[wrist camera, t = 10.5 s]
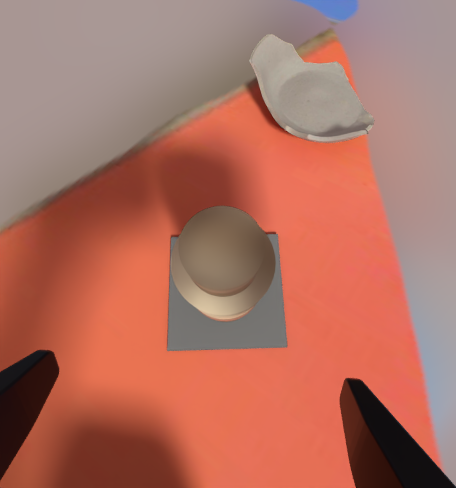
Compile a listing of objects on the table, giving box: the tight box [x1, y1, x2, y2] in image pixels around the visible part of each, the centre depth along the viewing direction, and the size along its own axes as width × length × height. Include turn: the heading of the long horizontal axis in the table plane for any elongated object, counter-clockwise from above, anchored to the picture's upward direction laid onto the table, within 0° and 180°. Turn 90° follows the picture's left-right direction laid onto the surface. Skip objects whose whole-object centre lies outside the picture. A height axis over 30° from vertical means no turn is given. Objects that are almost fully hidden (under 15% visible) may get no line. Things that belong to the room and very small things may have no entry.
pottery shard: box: [249, 34, 374, 143], centre depth 26 cm, size 10×11×5 cm
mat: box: [167, 234, 287, 351], centre depth 23 cm, size 9×9×1 cm
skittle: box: [171, 206, 276, 322], centre depth 17 cm, size 5×5×12 cm
